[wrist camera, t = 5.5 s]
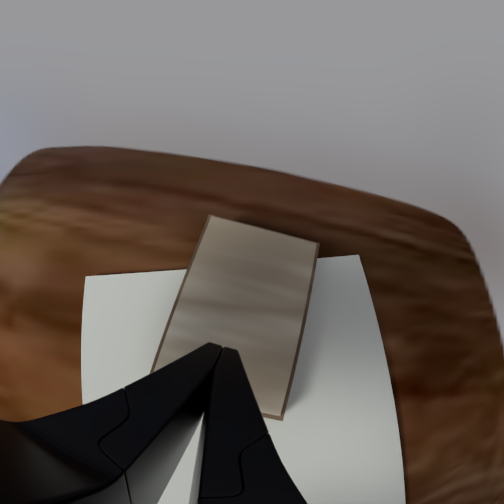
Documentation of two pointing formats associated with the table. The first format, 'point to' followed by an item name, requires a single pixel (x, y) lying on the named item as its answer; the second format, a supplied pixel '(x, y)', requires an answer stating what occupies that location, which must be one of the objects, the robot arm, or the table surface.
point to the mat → (302, 390)
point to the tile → (245, 304)
